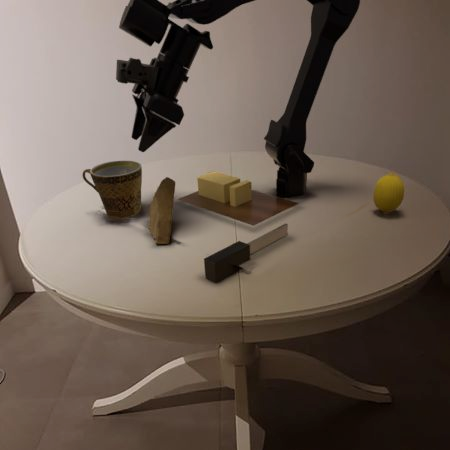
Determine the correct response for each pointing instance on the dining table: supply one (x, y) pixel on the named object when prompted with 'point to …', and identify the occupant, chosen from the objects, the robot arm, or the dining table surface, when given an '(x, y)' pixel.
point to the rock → (162, 211)
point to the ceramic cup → (118, 188)
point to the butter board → (243, 207)
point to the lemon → (388, 193)
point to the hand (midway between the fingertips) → (137, 144)
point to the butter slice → (240, 193)
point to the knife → (238, 254)
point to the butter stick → (216, 186)
